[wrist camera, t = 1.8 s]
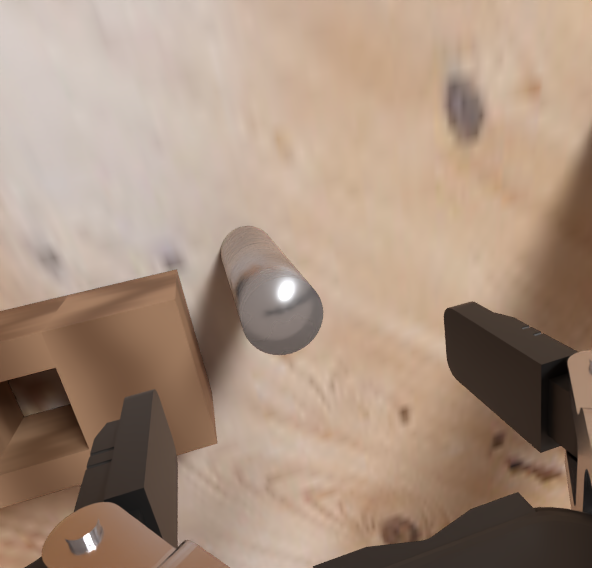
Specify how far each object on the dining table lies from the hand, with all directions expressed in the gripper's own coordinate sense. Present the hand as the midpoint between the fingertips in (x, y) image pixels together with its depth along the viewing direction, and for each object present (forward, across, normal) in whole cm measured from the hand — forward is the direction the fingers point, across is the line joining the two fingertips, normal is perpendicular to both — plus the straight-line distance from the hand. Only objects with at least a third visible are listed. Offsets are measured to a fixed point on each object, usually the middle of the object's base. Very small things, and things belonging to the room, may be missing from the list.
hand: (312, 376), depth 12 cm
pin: (+15, 0, 0) cm, 15 cm away
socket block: (+15, +12, +4) cm, 19 cm away
